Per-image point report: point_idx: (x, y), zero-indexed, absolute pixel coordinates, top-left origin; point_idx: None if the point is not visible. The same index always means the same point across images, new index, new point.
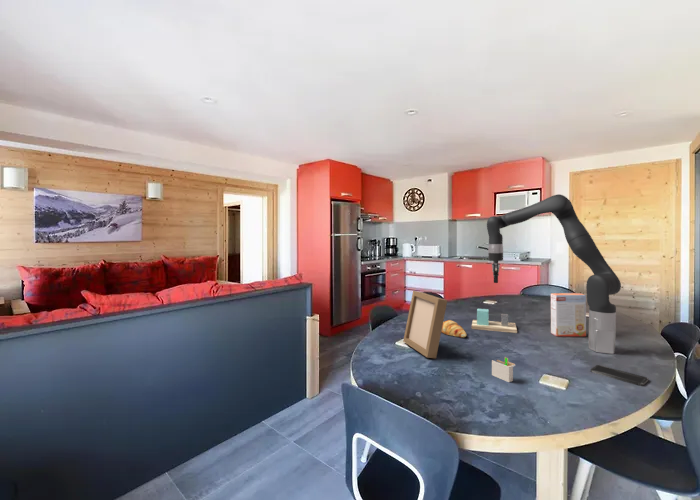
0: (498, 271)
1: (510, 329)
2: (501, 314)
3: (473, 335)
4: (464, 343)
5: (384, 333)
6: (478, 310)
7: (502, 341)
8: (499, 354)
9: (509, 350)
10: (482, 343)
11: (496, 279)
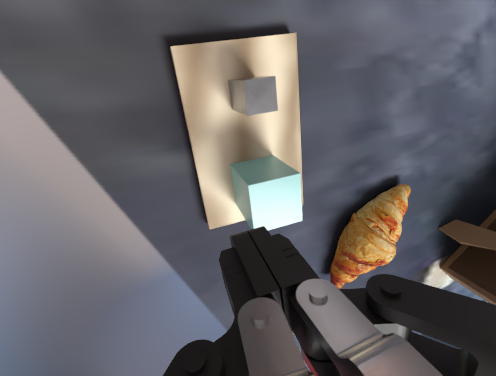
0: (409, 355)
1: (295, 62)
2: (264, 112)
3: (364, 173)
4: (431, 173)
5: None
6: (292, 217)
7: (399, 80)
8: (492, 76)
9: (466, 52)
10: (424, 132)
11: (299, 262)
